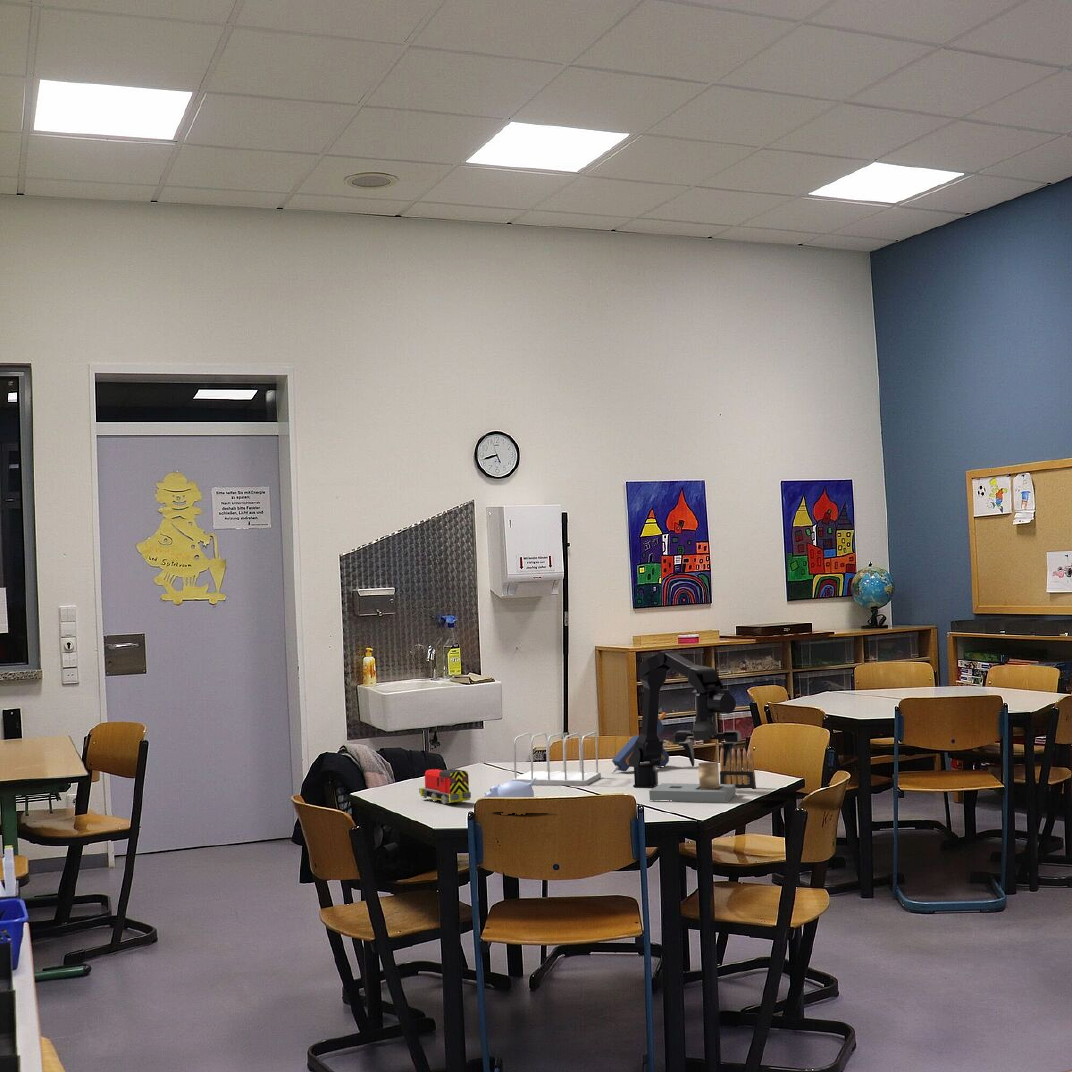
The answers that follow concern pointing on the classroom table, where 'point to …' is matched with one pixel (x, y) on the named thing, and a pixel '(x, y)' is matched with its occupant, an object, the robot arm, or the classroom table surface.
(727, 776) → the ammunition clip
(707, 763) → the beech peg
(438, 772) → the toy train
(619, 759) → the glue gun
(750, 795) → the classroom table surface
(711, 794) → the two-hole board
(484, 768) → the classroom table surface
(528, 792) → the hippopotamus toy
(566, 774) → the file sorter
